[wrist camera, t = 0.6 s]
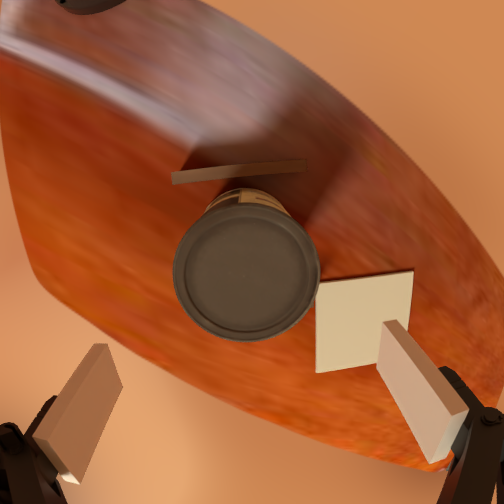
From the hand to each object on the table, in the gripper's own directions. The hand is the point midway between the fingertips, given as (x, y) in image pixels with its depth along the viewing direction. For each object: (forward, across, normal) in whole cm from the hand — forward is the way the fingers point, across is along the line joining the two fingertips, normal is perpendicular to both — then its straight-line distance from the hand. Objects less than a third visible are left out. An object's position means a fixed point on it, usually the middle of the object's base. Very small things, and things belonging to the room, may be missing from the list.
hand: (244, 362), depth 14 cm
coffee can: (+23, 0, +1) cm, 23 cm away
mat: (+22, +14, -12) cm, 29 cm away
